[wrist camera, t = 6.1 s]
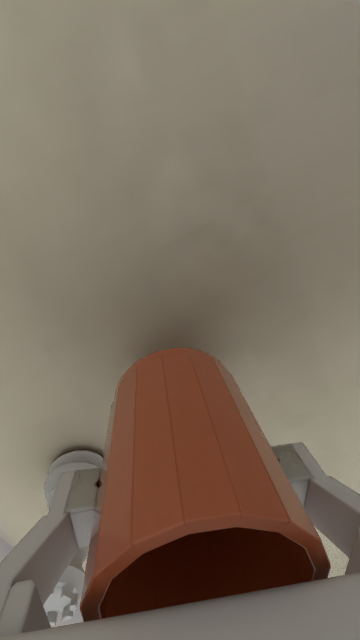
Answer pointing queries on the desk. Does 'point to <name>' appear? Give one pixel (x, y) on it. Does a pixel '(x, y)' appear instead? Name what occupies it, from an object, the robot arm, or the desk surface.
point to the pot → (190, 495)
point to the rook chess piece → (73, 577)
